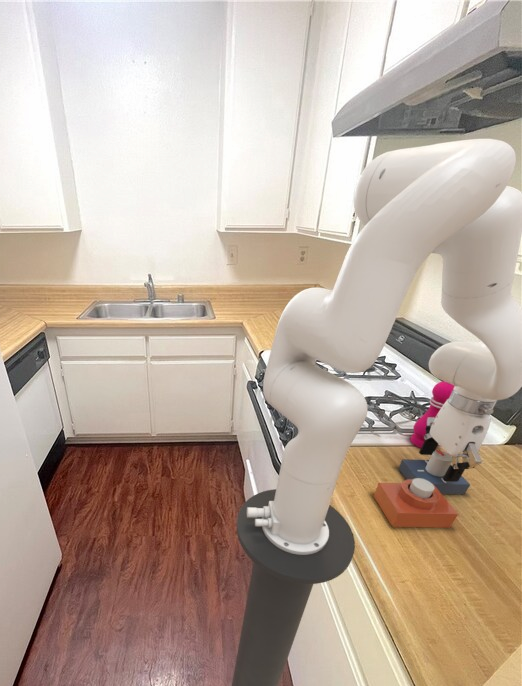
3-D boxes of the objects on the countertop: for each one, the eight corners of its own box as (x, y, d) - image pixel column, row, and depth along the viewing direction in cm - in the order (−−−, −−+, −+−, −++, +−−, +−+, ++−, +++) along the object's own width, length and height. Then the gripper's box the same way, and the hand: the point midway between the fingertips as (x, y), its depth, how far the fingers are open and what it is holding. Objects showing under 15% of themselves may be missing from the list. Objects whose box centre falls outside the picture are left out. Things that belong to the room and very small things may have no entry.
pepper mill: (431, 437, 99) (462, 372, 88) (441, 452, 93) (476, 384, 82) (404, 434, 100) (431, 369, 89) (413, 449, 94) (443, 381, 83)
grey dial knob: (448, 476, 79) (457, 460, 77) (431, 476, 79) (440, 460, 77) (438, 465, 83) (446, 449, 80) (421, 465, 83) (429, 449, 80)
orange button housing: (392, 526, 70) (402, 505, 67) (373, 495, 78) (381, 475, 75) (450, 527, 71) (463, 506, 67) (426, 496, 78) (436, 476, 75)
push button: (415, 498, 70) (418, 491, 68) (405, 485, 73) (408, 477, 72) (434, 498, 70) (438, 491, 68) (423, 485, 73) (427, 478, 72)
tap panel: (417, 493, 79) (422, 483, 77) (398, 468, 86) (402, 458, 85) (464, 494, 79) (471, 484, 77) (441, 469, 87) (446, 459, 85)
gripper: (522, 424, 64) (478, 492, 73) (462, 383, 78) (432, 445, 88) (481, 423, 64) (443, 492, 73) (429, 383, 78) (402, 445, 87)
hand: (437, 466), depth 80 cm, fingers open, 9 cm apart
